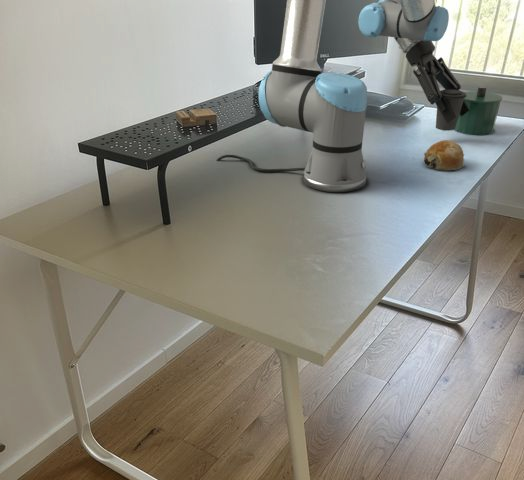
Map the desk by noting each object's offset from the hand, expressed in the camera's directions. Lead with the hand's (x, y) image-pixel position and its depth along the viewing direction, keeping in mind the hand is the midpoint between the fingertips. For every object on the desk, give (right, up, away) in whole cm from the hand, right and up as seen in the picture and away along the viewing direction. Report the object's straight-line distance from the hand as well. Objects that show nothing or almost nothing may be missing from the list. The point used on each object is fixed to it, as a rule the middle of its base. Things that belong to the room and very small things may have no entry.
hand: (458, 116), depth 155 cm
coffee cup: (-3, -2, +4) cm, 5 cm away
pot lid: (+10, +9, +9) cm, 16 cm away
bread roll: (-8, -17, -10) cm, 21 cm away
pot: (+10, +2, +15) cm, 18 cm away
